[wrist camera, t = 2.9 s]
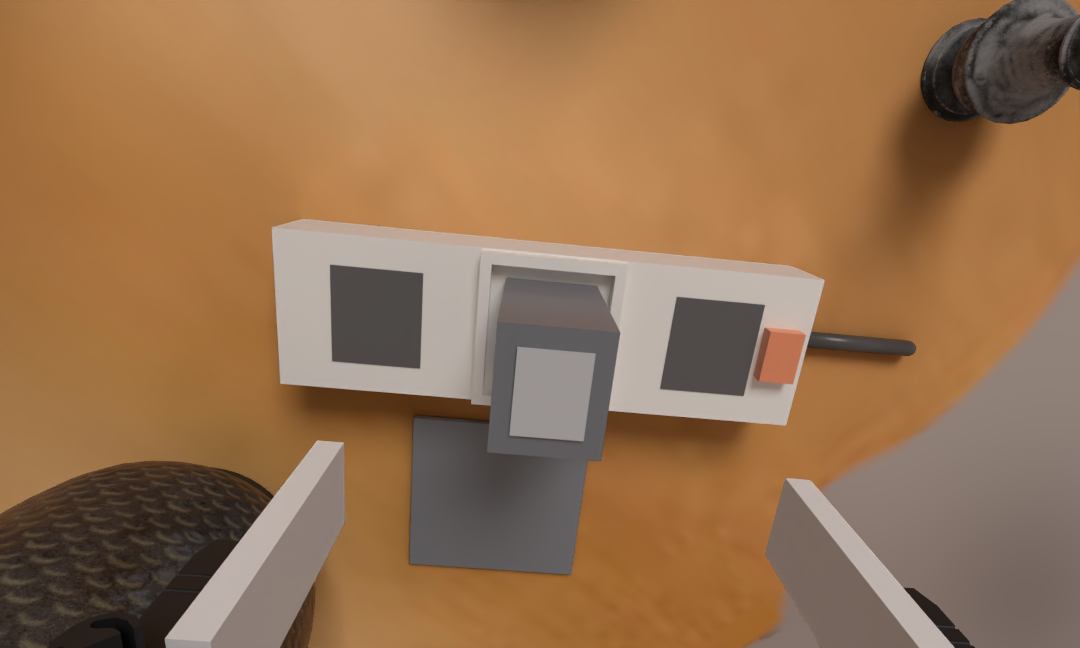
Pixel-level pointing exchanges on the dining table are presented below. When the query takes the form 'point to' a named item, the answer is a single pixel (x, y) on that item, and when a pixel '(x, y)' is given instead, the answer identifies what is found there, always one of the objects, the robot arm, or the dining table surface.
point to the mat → (490, 502)
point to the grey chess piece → (1005, 63)
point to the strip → (484, 263)
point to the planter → (118, 545)
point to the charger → (552, 370)
